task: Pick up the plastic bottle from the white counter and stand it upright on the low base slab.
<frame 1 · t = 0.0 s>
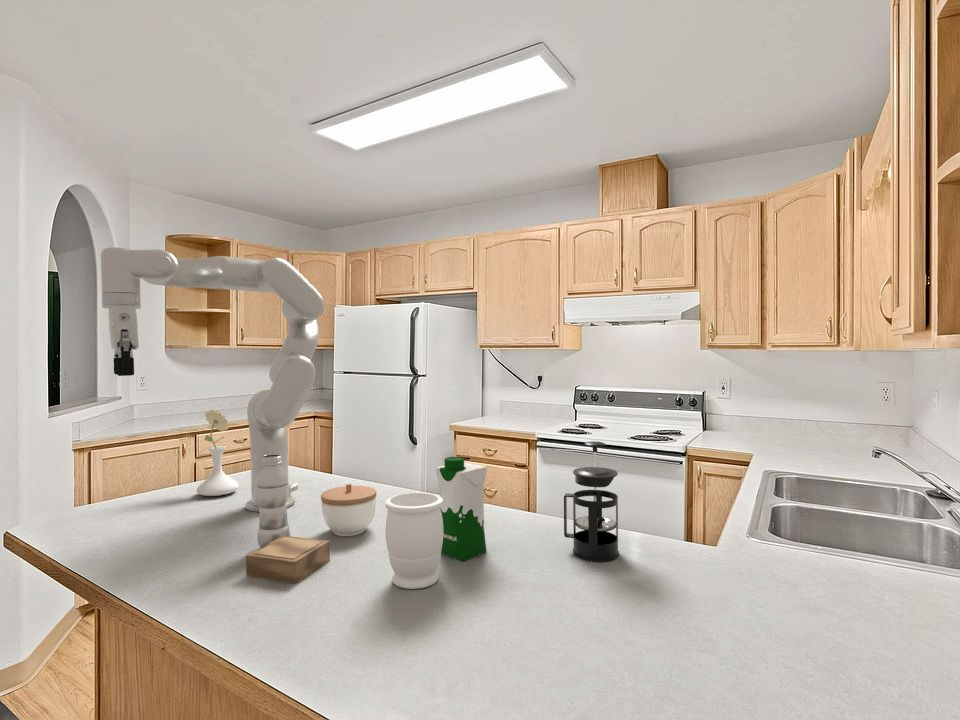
hand: (123, 374, 126), 37 cm above the counter, tool pointing down, fingers open, 9 cm apart
plastic bottle: (274, 549, 116), on the counter
jar: (415, 581, 99), on the counter
flower in vase: (217, 494, 160), on the counter
lidded bowl: (349, 531, 126), on the counter
base slab: (289, 568, 105), on the counter
milk carton: (463, 553, 112), on the counter
french press: (593, 553, 111), on the counter
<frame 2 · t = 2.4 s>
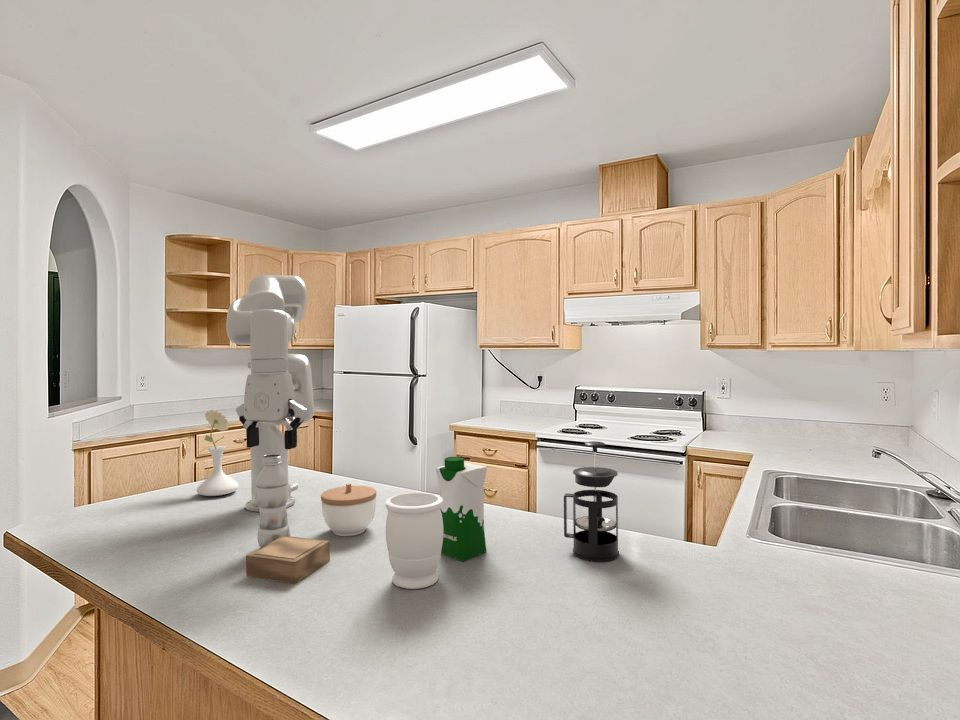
hand: (271, 447, 115), 22 cm above the counter, tool pointing down, fingers open, 9 cm apart
nothing on the counter moved.
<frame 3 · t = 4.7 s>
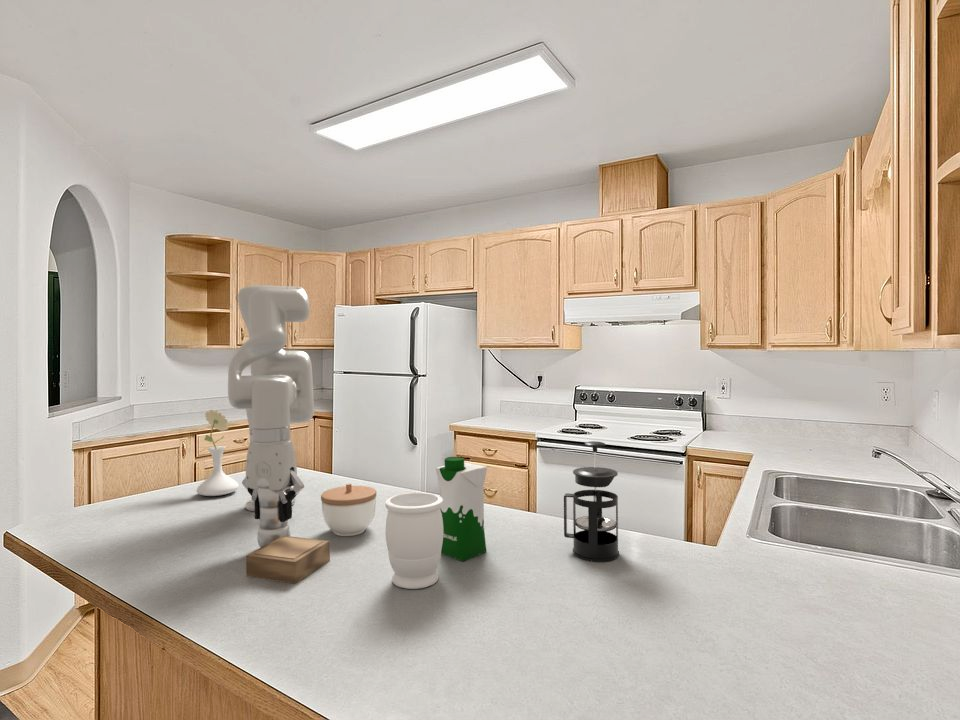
hand: (273, 518, 116), 7 cm above the counter, tool pointing down, fingers closed on plastic bottle, 5 cm apart
plastic bottle: (274, 549, 116), on the counter, touching gripper
everything else where it was.
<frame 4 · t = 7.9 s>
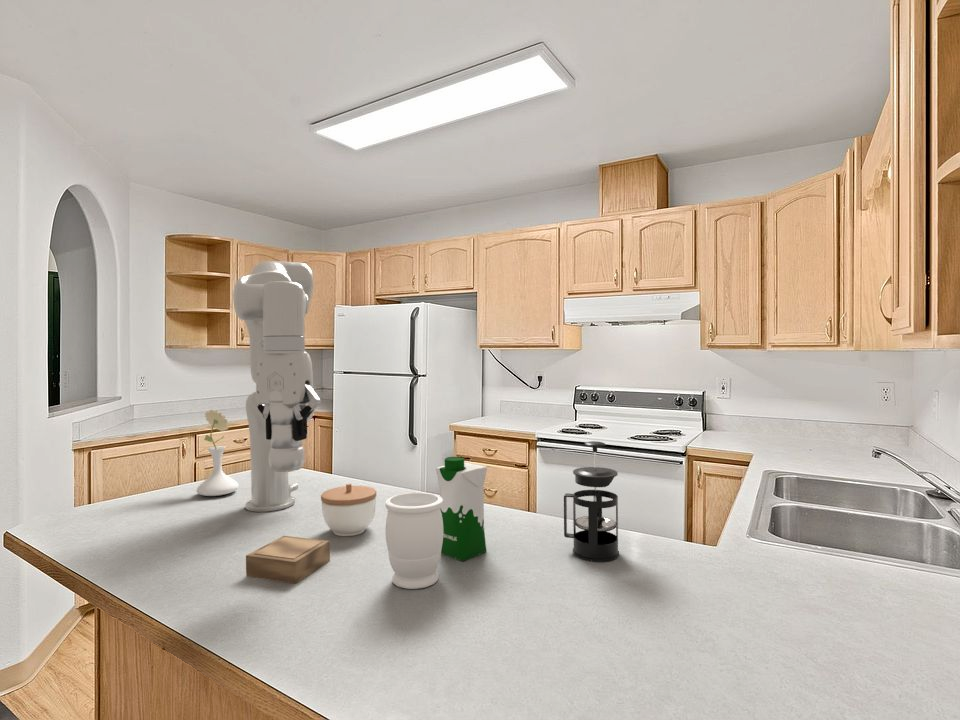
hand: (286, 438, 104), 26 cm above the counter, tool pointing down, fingers closed on plastic bottle, 5 cm apart
plastic bottle: (287, 472, 105), point 19 cm above the counter, touching gripper
everything else where it was.
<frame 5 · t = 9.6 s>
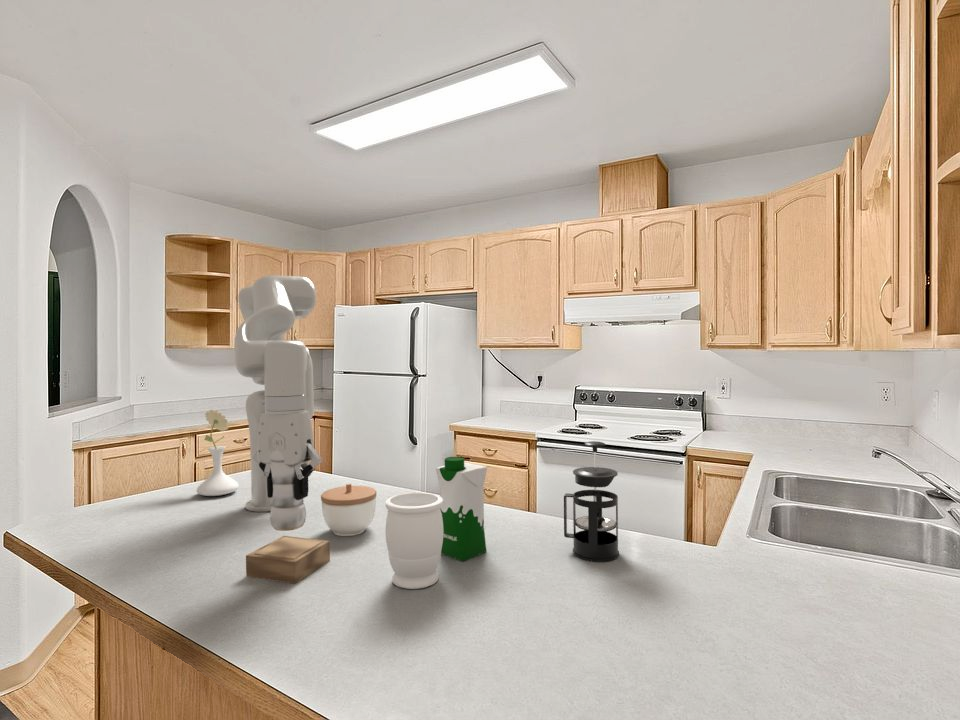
hand: (287, 496, 105), 14 cm above the counter, tool pointing down, fingers closed on plastic bottle, 5 cm apart
plastic bottle: (288, 530, 105), point 8 cm above the counter, touching gripper
everything else where it was.
when the fingers open (12 cm above the counter, at t = 11.1 s): plastic bottle drops 1 cm, resting on base slab.
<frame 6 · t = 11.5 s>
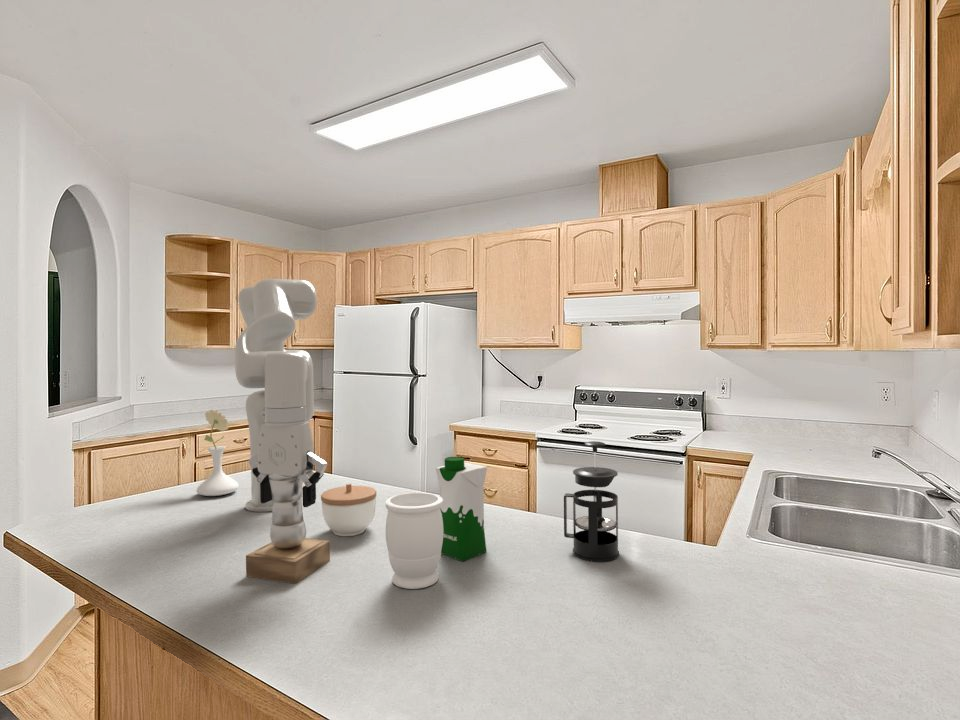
hand: (288, 503, 105), 13 cm above the counter, tool pointing down, fingers open, 9 cm apart
plastic bottle: (288, 547, 105), point 4 cm above the counter, touching base slab
everything else where it was.
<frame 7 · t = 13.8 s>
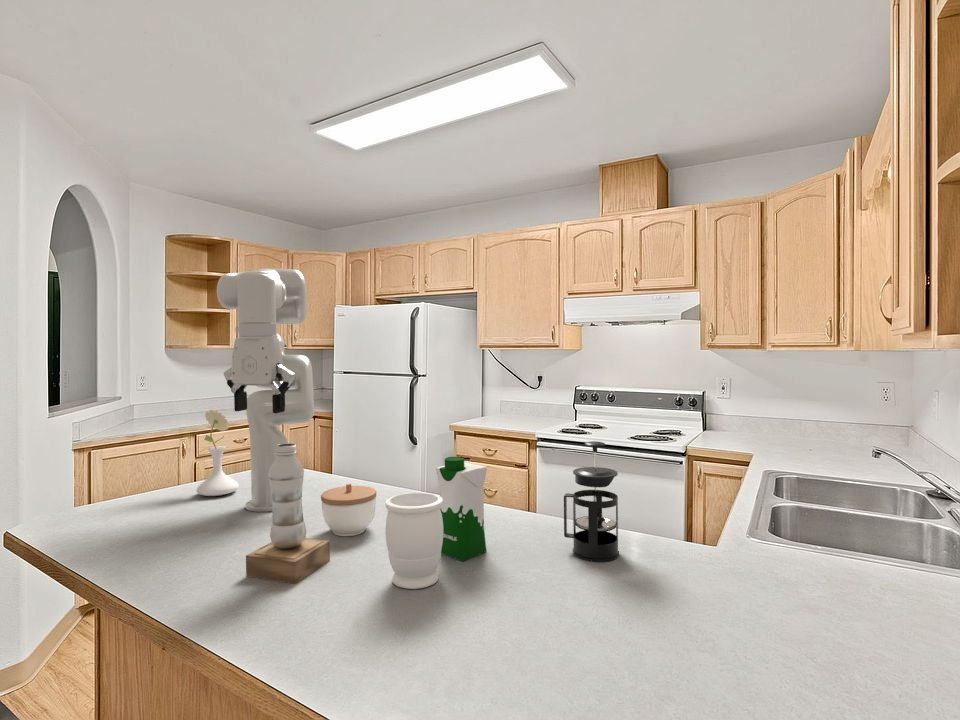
hand: (259, 411, 116), 30 cm above the counter, tool pointing down, fingers open, 9 cm apart
nothing on the counter moved.
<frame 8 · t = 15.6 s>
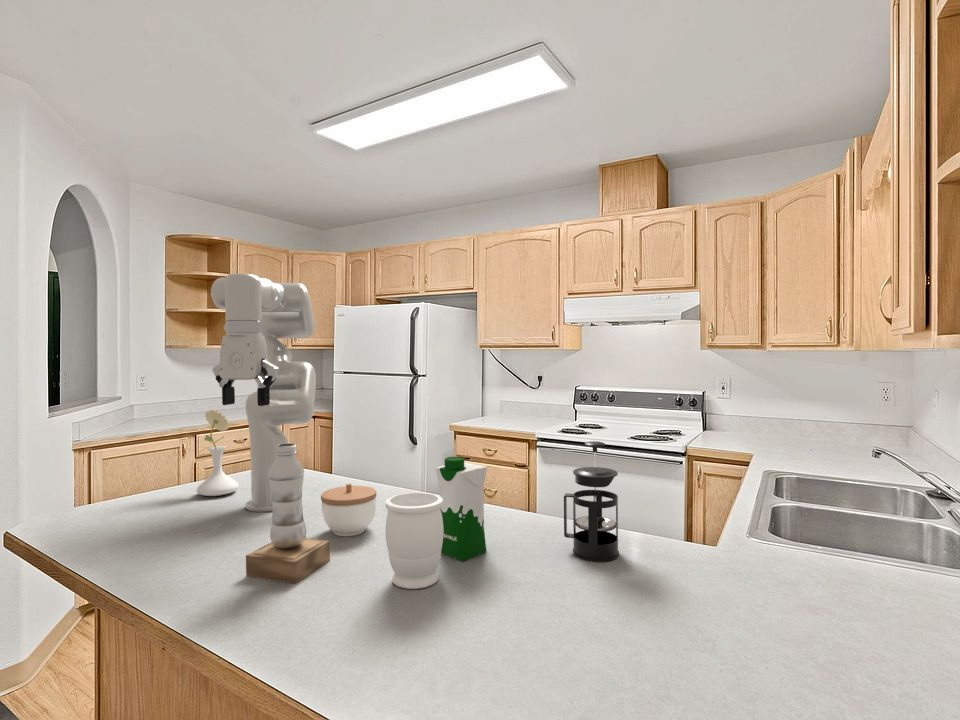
hand: (246, 404, 122), 30 cm above the counter, tool pointing down, fingers open, 9 cm apart
nothing on the counter moved.
at the end: plastic bottle inside the target area on the base slab (0.4 cm from its centre), point 4.0 cm above the base slab's base; plastic bottle tilted 0°; the gripper is holding nothing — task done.
